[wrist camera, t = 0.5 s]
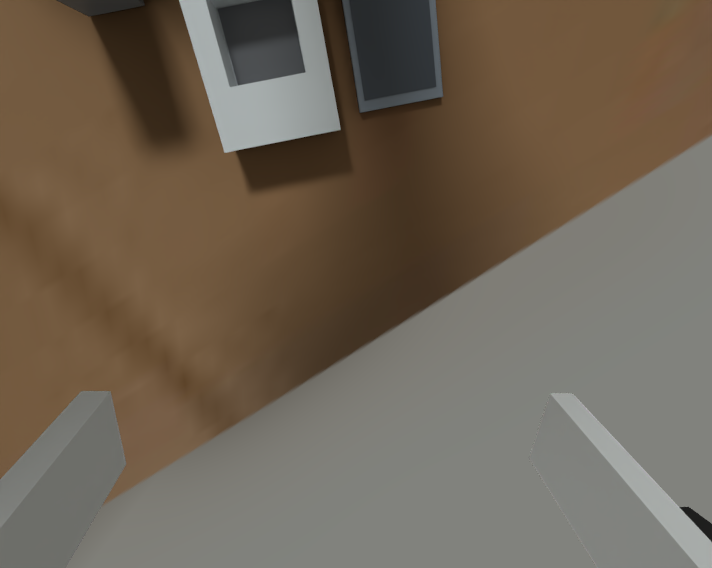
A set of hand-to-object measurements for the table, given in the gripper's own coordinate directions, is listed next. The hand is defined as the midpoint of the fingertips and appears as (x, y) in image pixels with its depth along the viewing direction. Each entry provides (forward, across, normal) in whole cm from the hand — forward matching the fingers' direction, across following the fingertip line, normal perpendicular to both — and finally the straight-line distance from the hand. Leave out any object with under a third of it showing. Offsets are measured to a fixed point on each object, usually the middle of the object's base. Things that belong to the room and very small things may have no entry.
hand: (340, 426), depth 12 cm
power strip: (+26, -6, +17) cm, 31 cm away
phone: (+26, +4, +17) cm, 32 cm away
